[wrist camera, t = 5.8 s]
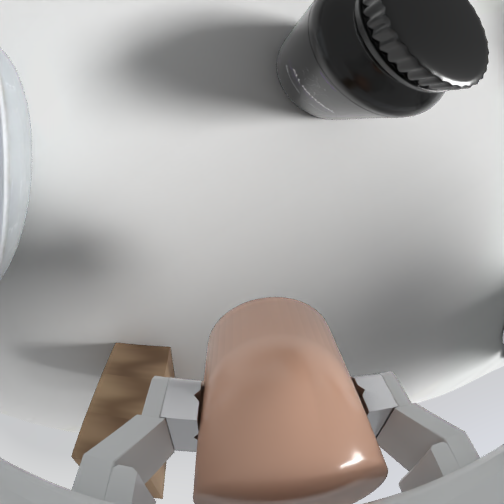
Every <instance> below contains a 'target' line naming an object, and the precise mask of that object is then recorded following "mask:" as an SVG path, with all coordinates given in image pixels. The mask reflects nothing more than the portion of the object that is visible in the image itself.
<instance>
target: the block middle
mask: <svg viewBox="0 0 504 504" xmlns="http://www.w3.org/2000/svg"><path fill="white" fill-rule="evenodd" d="M151 380H152V379H144V378H134V377H126V376H118V375H111V374H104V373H102V375H101V378H100V380H99V383H98V385H97V388H96V390H95V393H94V395H93V398H92V400H91V403H90V406H89V408H88V412H92V413H97V414H103V415H108V416H114V417H120V418H126V419H132V418H133V417H134V416H136V415H142V412H143V408H144V404H145V401H146V397H147V394H148V391H149V387H150V384H151Z"/></svg>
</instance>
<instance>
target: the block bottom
mask: <svg viewBox="0 0 504 504" xmlns="http://www.w3.org/2000/svg"><path fill="white" fill-rule="evenodd" d="M103 373H104V374H111V375H118V376H126V377H134V378H144V379H152V378H153V377H154V376H161V377H172V378H175V375H174V369H173V362H172V355H171V348H170V347H161V346H147V345H135V344H125V343H115V345H114V347H113V350H112V352H111V354H110V356H109V359H108V361H107V363H106V366H105V368H104V371H103Z"/></svg>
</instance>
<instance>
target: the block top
mask: <svg viewBox="0 0 504 504" xmlns="http://www.w3.org/2000/svg"><path fill="white" fill-rule="evenodd" d="M129 420H130V419H126V418H120V417H114V416H108V415H103V414H97V413H92V412H88V411H87V413H86V416H85V418H84V421H83V424H82V427H81V429H80V432H79V435H78V438H77V441H76V444H75V447H74V450H73V453H72V458H73V459H74V460H75V462H76V463H77V464H78V465H79V466H80V463H81V460H82V458H83V455H84V454H85V453H86V452H87V451H89V450H90V449H92V448H93V447H94V446H96V445H97V444H98V443H100V442H101V441H103V440H104V439H105V438H107V437H108V436H109V435H111V434H112V433H113V432H115V431H116V430H117V429H119V428H120V427H121V426H123V425H124V424H125V423H126V422H128V421H129ZM165 469H166V462H165V463H164V464H163V465H162V466H161V467H160V468H159V470H158V471H157V472H156V473H155V474H154V475H153V476H152V477H151V478H150V479H149V480H148V481H147V482H146V483H145V486H146V487H147V489H148V490H149V492H150V493H151V495H152V496H153V498H160V499H163V490H164V479H165Z"/></svg>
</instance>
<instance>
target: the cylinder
mask: <svg viewBox="0 0 504 504" xmlns="http://www.w3.org/2000/svg"><path fill="white" fill-rule="evenodd" d="M387 474H388V468H387V466H386V463H385V460H384V458H383V455H382V453H381V450H380V448H379V445H378V442H377V440H376V437H375V435H374V432H373V430H372V427H371V425H370V422H369V420H368V417H367V415H366V412H365V410H364V407H363V405H362V403H361V400H360V398H359V395H358V393H357V391H356V388H355V386H354V384H353V381H352V379H351V376H350V374H349V372H348V369H347V367H346V365H345V363H344V360H343V358H342V356H341V353H340V351H339V349H338V347H337V344H336V342H335V340H334V337H333V335H332V333H331V331H330V329H329V326H328V324H327V322H326V321H325V319H324V318H323V317H322V315H321V314H320V313H319V312H318V311H317V310H315V309H314V308H312V307H311V306H309V305H307V304H305V303H303V302H301V301H298V300H294V299H289V298H282V297H267V298H260V299H256V300H252V301H249V302H246V303H243V304H241V305H239V306H237V307H235V308H233V309H232V310H230V311H229V312H227V313H226V314H225V315H224V316H223V317H222V318H221V319H220V320H219V321H218V322H217V323H216V325H215V326H214V328H213V329H212V331H211V334H210V336H209V340H208V347H207V355H206V364H205V373H204V382H203V392H202V401H201V410H200V422H199V432H198V442H197V455H196V466H195V479H194V493H193V500H194V503H195V504H353V503H355V502H357V501H358V500H361V499H362V498H364V497H366V496H367V495H369V494H370V493H372V492H373V491H374V490H376V489H377V488H378V487H379V486H380V485H381V484H382V483H383V482H384V480H385V479H386V477H387Z"/></svg>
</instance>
